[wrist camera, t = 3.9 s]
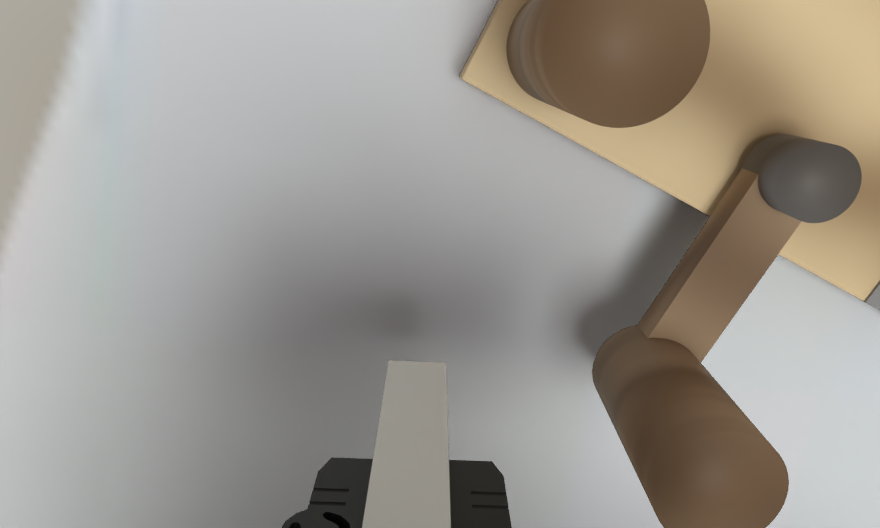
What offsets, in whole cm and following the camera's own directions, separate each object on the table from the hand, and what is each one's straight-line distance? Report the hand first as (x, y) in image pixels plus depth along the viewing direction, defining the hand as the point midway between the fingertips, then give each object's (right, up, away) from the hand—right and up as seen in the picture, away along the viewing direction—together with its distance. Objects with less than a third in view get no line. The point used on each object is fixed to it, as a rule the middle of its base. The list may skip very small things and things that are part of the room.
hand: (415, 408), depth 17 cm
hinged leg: (+8, +3, +2) cm, 9 cm away
